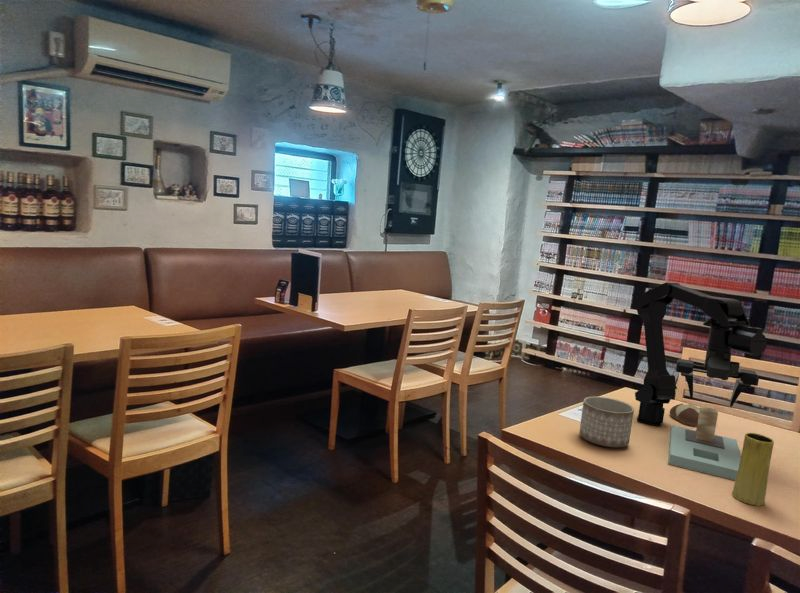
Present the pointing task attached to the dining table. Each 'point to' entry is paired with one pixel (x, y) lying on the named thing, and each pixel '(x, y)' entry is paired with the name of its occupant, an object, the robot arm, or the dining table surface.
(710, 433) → the maple block
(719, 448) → the pocket board
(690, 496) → the dining table surface
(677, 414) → the bread
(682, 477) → the dining table surface
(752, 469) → the vase
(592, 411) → the planter
